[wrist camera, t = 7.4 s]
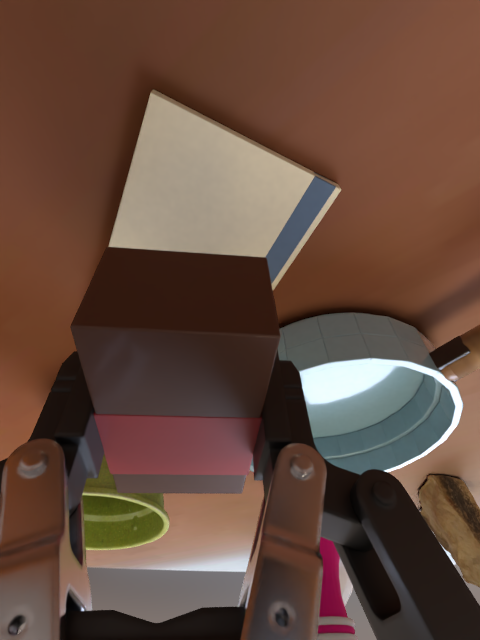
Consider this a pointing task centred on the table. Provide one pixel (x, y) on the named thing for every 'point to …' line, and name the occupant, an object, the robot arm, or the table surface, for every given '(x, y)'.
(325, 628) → the pepper mill
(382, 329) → the pan
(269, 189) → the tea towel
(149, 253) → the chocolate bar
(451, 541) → the rock
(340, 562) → the flower vase
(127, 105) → the table surface
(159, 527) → the plant pot
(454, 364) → the pan handle
